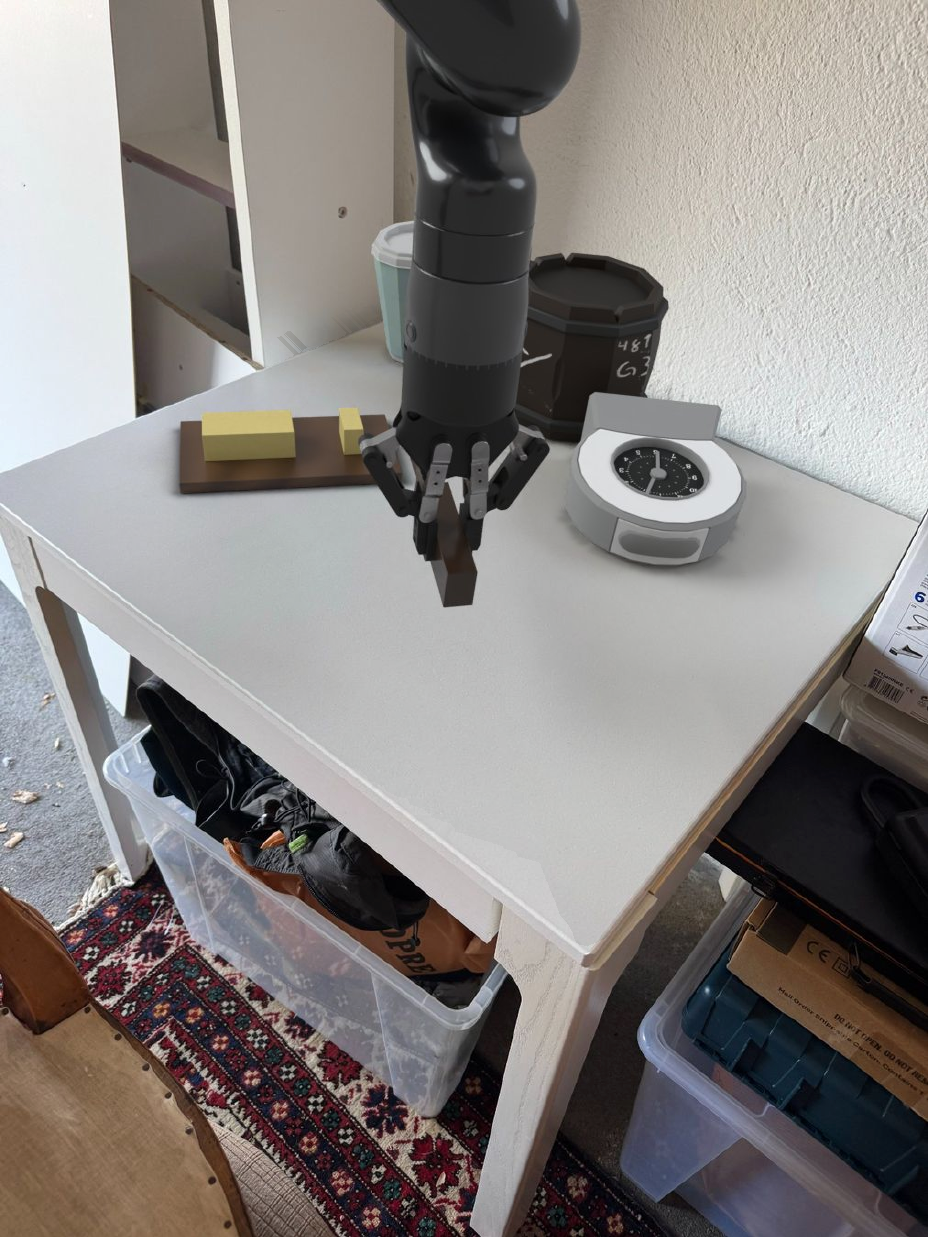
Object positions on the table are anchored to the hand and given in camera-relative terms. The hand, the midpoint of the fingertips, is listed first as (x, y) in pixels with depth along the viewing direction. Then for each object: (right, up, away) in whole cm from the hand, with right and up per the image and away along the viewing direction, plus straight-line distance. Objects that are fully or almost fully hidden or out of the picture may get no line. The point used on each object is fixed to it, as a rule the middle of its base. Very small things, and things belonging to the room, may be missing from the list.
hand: (445, 552), depth 69 cm
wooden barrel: (+13, +20, +41) cm, 48 cm away
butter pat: (-11, +14, +29) cm, 34 cm away
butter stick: (-21, +13, +27) cm, 36 cm away
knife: (-1, +4, +5) cm, 6 cm away
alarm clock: (+20, +6, +26) cm, 33 cm away
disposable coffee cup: (-5, +29, +49) cm, 57 cm away
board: (-17, +12, +28) cm, 35 cm away
